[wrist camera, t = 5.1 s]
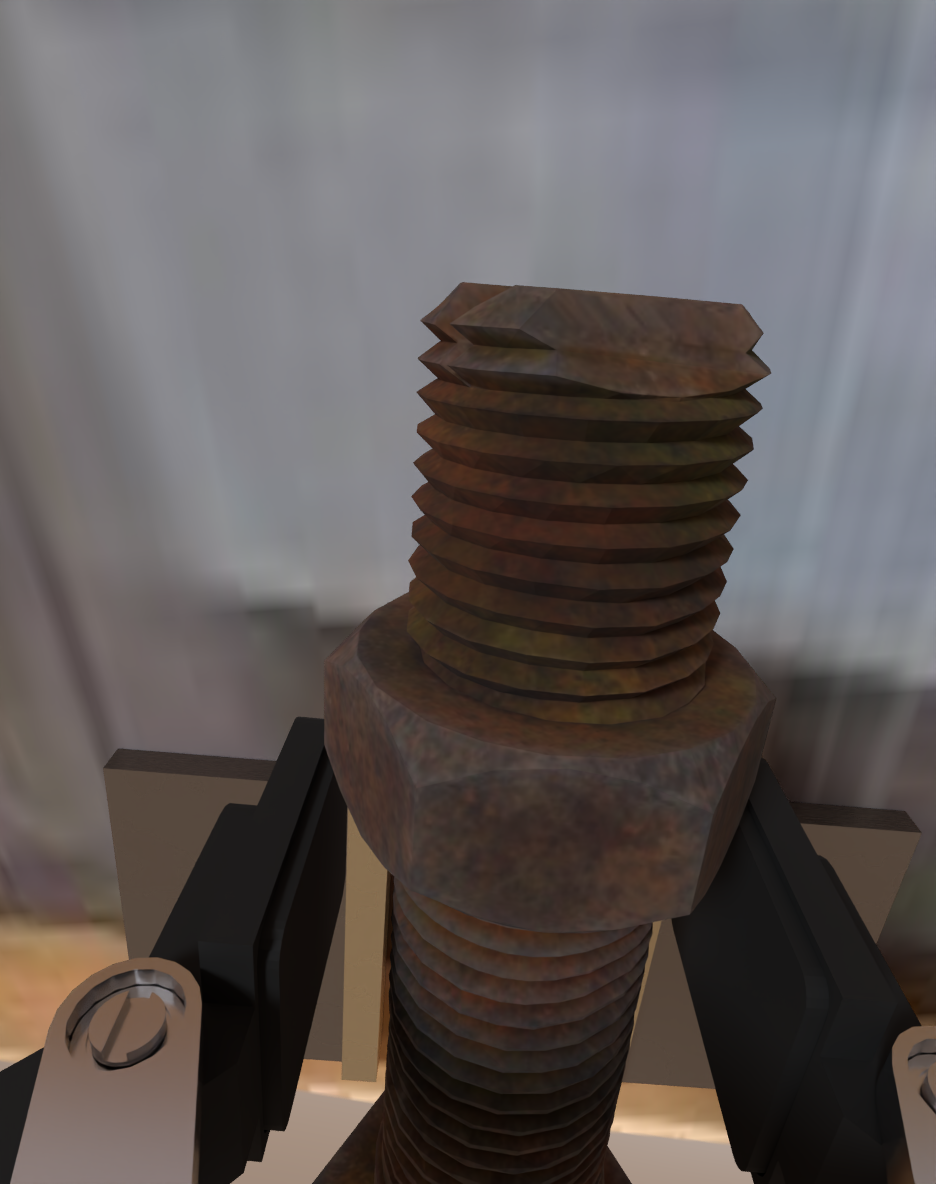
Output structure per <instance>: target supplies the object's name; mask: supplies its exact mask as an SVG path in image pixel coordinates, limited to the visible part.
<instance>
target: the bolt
mask: <svg viewBox="0 0 936 1184" xmlns="http://www.w3.org/2000/svg"><path fill="white" fill-rule="evenodd" d="M420 321H421V322H422V323H423V324H424V325H426V326H427V327H428V328H429V329H430V330H431V331H432V332H433V333H434V334H435V335H436V336H437V337H438V338H439V339H440V340H441V341H440V342H438V343H437V344H436V345H434V346H433V347H432V348H430V349H429V350H428V351H426V352H425V353H424V354H422V355H421V356H420V357H418V359H419V360H420V361H421V362H422V363H423V364H424V365H425V366H426V367H427V368H428V369H429V370H430V371H431V372H432V373H433V374H434V375H435V376H436V377H437V379H436V380H434V381H433V382H431V383H430V384H428V385H427V386H425V387H423V388H422V389H420V390H419V391H417V393H418V395H419V396H420V397H421V398H422V399H423V400H424V402H425V403H426V404H427V405H428V406H429V407H430V408H431V410H432V411H433V412H434V413H435V415H433V416H431V417H430V418H428V419H426V420H424V421H423V422H421V423H419V424H418V426H417V433H418V434H419V435H420V436H421V437H422V438H423V439H424V440H425V441H426V442H427V443H428V444H429V445H430V446H431V447H432V448H433V449H431V450H429V451H428V452H426V453H424V454H423V455H422V456H420V457H419V458H418V459H417V460H416V461H415V462H413V463H414V465H415V466H416V467H417V468H418V470H419V471H420V472H421V473H422V474H423V476H424V477H425V478H426V479H427V480H428V482H427V483H426V484H424V485H422V486H421V487H420V488H419V489H418V490H417V491H416V492H415V493H414V494H413V495H412V496H411V497H412V498H413V500H414V501H415V503H416V504H417V506H418V507H419V509H420V510H421V511H422V512H423V513H424V514H425V515H424V516H422V517H421V518H419V519H417V520H416V521H414V522H413V526H412V537H413V538H414V539H415V540H416V541H417V542H418V543H419V544H420V545H419V546H418V547H417V549H416V550H415V552H414V553H413V554H412V556H411V557H410V559H409V560H408V561H409V563H410V565H411V567H412V569H413V571H414V573H415V575H416V578H415V579H414V580H412V581H411V582H410V587H409V592H408V593H406V594H404V595H402V596H400V597H398V598H397V599H395V600H393V601H391V602H389V603H387V604H386V605H384V606H382V607H380V608H378V609H376V610H375V611H374V612H373V613H371V614H370V615H369V616H368V617H367V618H366V619H365V620H364V621H363V622H362V623H361V624H360V625H359V626H358V627H357V628H356V629H355V630H354V631H353V632H352V633H351V634H350V635H349V636H348V637H347V638H346V639H345V640H344V641H343V642H342V643H341V644H340V645H339V646H338V647H337V648H336V649H335V650H334V651H333V652H332V653H331V654H330V655H329V656H328V657H327V658H326V660H325V661H324V745H325V748H326V751H327V754H328V757H329V760H330V763H331V765H332V768H333V771H334V774H335V777H336V780H337V783H338V786H339V788H340V791H341V793H342V796H343V798H344V800H345V802H346V804H347V807H348V809H349V811H350V813H351V815H352V818H353V820H354V822H355V824H356V826H357V829H358V831H359V833H360V835H361V837H362V838H363V840H364V841H365V842H366V844H367V845H368V846H369V848H370V849H371V850H372V852H373V853H374V854H375V856H376V857H377V859H378V860H379V861H380V863H381V864H382V865H383V867H384V868H385V869H387V870H388V871H389V872H390V873H391V874H392V875H393V876H394V886H395V887H394V891H393V911H392V916H391V920H392V926H393V931H392V934H391V941H392V950H391V954H390V961H391V970H390V973H389V980H390V989H389V1011H390V1021H389V1037H388V1045H387V1050H388V1051H387V1063H386V1075H385V1091H384V1092H383V1093H382V1095H381V1096H380V1097H379V1098H378V1100H377V1101H376V1102H375V1104H374V1105H373V1106H372V1107H371V1109H370V1110H369V1111H368V1113H367V1114H366V1115H365V1117H364V1118H363V1119H362V1120H361V1122H360V1123H359V1124H358V1125H357V1127H356V1128H355V1129H354V1131H353V1132H352V1133H351V1135H350V1136H349V1137H348V1138H347V1139H346V1141H345V1142H344V1143H343V1145H342V1146H341V1147H340V1148H339V1150H338V1151H337V1152H336V1154H335V1155H334V1156H333V1157H332V1159H331V1160H330V1162H329V1163H328V1164H327V1165H326V1166H325V1168H324V1169H323V1171H322V1172H321V1173H320V1174H319V1176H318V1177H317V1178H316V1179H315V1181H314V1182H313V1183H312V1184H632V1183H631V1182H630V1180H629V1179H628V1177H627V1176H626V1174H625V1173H624V1171H623V1169H622V1168H621V1166H620V1165H619V1163H618V1162H617V1160H616V1158H615V1157H614V1155H613V1154H612V1152H611V1151H610V1149H609V1148H608V1146H607V1145H608V1141H609V1137H610V1128H611V1126H612V1123H613V1119H614V1113H615V1109H616V1104H617V1099H618V1095H619V1091H620V1087H621V1083H622V1079H623V1075H624V1071H625V1067H626V1060H627V1056H628V1053H629V1049H630V1039H631V1035H632V1031H633V1026H634V1014H635V1010H636V1007H637V1003H638V999H639V995H640V990H641V986H642V985H641V984H642V980H643V976H644V972H645V964H646V961H647V958H648V954H649V942H650V939H651V937H652V934H653V922H657V921H661V920H666V919H671V918H676V917H681V916H686V915H690V914H691V913H692V911H693V910H694V909H695V907H696V906H697V905H698V904H699V902H700V901H701V900H702V898H703V897H704V896H705V894H706V892H707V890H708V889H709V887H710V885H711V883H712V881H713V879H714V877H715V876H716V874H717V872H718V870H719V868H720V866H721V864H722V862H723V859H724V857H725V855H726V853H727V850H728V848H729V846H730V843H731V841H732V839H733V837H734V834H735V832H736V830H737V828H738V825H739V823H740V820H741V817H742V815H743V812H744V809H745V807H746V804H747V801H748V799H749V796H750V793H751V791H752V788H753V785H754V783H755V779H756V775H757V772H758V768H759V764H760V760H761V756H762V752H763V748H764V744H765V740H766V736H767V732H768V728H769V725H770V721H771V717H772V713H773V709H774V705H775V701H776V698H775V696H774V695H773V694H772V693H771V691H770V690H769V689H768V688H767V686H766V685H765V684H764V683H763V681H762V680H761V679H760V677H759V676H758V675H757V674H756V672H755V671H754V670H753V669H752V667H751V666H750V665H749V664H748V662H747V661H746V660H745V659H744V657H743V656H742V655H741V654H740V652H739V651H738V650H737V649H736V648H735V647H734V646H733V645H731V644H730V643H729V642H727V641H726V640H725V639H723V638H722V637H721V636H720V635H718V634H717V633H716V632H714V631H713V629H714V626H715V624H716V622H717V619H718V617H719V615H720V612H719V609H718V607H717V604H716V602H715V600H716V599H717V598H718V597H720V595H721V593H722V591H723V589H724V587H725V584H726V582H727V581H726V578H725V576H724V574H723V571H722V569H721V567H720V566H722V565H723V564H725V563H726V562H727V561H728V559H729V557H730V555H731V553H732V551H733V547H732V546H731V544H730V543H729V541H728V540H727V538H726V537H725V535H724V534H725V533H727V532H728V531H730V530H731V529H732V527H733V526H734V524H735V523H736V521H737V520H738V518H739V517H740V516H741V515H740V514H739V512H738V511H737V510H736V509H735V507H734V506H733V505H732V504H731V502H730V501H729V500H728V499H729V498H731V497H732V496H734V495H735V494H737V493H738V492H740V491H741V490H742V489H743V488H744V486H745V484H746V483H747V481H748V480H747V478H746V477H745V476H744V475H743V474H742V473H741V472H740V471H739V470H738V469H737V467H736V466H734V465H733V463H735V462H736V461H738V460H739V459H741V458H742V457H744V456H745V455H746V454H748V453H749V452H751V451H752V450H754V448H753V442H752V438H751V437H750V436H749V435H748V434H747V433H746V432H745V431H744V430H742V429H741V428H740V427H739V426H740V425H741V424H743V423H744V422H745V421H747V420H748V419H750V418H751V417H753V416H754V415H755V414H757V413H758V412H759V411H760V410H762V409H763V408H762V406H761V403H760V402H758V401H757V400H756V399H755V398H754V397H753V396H752V395H751V394H750V393H749V392H748V391H747V390H746V388H748V387H749V386H751V385H753V384H754V383H756V382H758V381H759V380H761V379H763V378H764V377H766V376H768V375H769V374H771V371H770V369H769V367H768V366H767V365H766V364H765V363H764V362H763V361H762V360H761V359H760V358H759V357H758V356H757V355H756V354H755V353H754V352H753V351H752V349H753V348H754V346H755V345H756V343H757V342H758V340H759V339H760V338H761V336H762V335H763V332H762V330H761V329H760V328H759V326H758V325H757V324H756V322H755V321H754V320H753V318H752V317H751V315H750V313H749V312H748V311H747V310H746V309H745V307H744V306H743V305H742V304H731V303H721V302H710V301H699V300H688V299H678V298H667V297H656V296H644V295H631V294H619V293H607V292H595V291H583V290H571V289H559V288H546V287H532V286H519V285H515V286H501V285H489V284H477V283H465V282H462V283H460V284H459V285H458V286H457V287H456V288H455V289H454V290H453V291H452V292H451V293H450V295H449V296H448V297H447V298H446V299H445V300H444V301H443V302H442V303H441V304H440V305H439V306H437V307H436V308H435V309H434V310H433V311H431V312H430V313H429V314H428V315H426V316H425V317H424V318H422V319H421V320H420Z"/></svg>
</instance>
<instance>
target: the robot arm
mask: <svg viewBox="0 0 936 1184" xmlns="http://www.w3.org/2000/svg"><path fill="white" fill-rule="evenodd" d="M346 844H347V804H346V802H345V800H344V798H343V796H342V793H341V791H340V788H339V786H338V783H337V780H336V777H335V774H334V771H333V768H332V765H331V763H330V760H329V757H328V754H327V751H326V748H325V745H324V719H319V718H307V717H297V718H296V719H295V721H294V723H293V725H292V727H291V730H290V732H289V734H288V736H287V739H286V741H285V743H284V746H283V748H282V750H281V752H280V755H279V757H278V759H277V762H276V764H275V766H274V768H273V771H272V773H271V775H270V778H269V780H268V782H267V784H266V787H265V789H264V791H263V794H262V796H261V798H260V800H259V803H258V805H247V804H236V803H229V804H227V805H226V806H225V807H224V809H223V810H222V812H221V813H220V815H219V817H218V819H217V821H216V823H215V825H214V827H213V829H212V831H211V833H210V835H209V837H208V839H207V841H206V843H205V845H204V847H203V849H202V851H201V853H200V855H199V857H198V859H197V861H196V863H195V865H194V867H193V870H192V872H191V874H190V876H189V878H188V880H187V882H186V884H185V886H184V888H183V890H182V892H181V894H180V896H179V898H178V900H177V902H176V904H175V906H174V908H173V910H172V912H171V914H170V916H169V918H168V920H167V922H166V924H165V926H164V928H163V930H162V932H161V934H160V936H159V938H158V940H157V942H156V944H155V946H154V948H153V950H152V952H151V954H150V956H149V958H134V959H130V960H127V961H123V962H119V963H115V964H112V965H110V966H108V967H107V968H105V969H103V970H101V971H99V972H97V973H95V974H93V975H91V976H90V977H89V978H87V979H86V980H85V981H84V982H82V983H81V984H80V985H79V986H77V987H76V988H75V989H73V990H72V991H71V993H70V994H69V995H68V996H67V998H66V999H65V1000H64V1001H63V1003H62V1004H61V1005H60V1007H59V1008H58V1009H57V1011H56V1014H55V1016H54V1018H53V1021H52V1023H51V1025H50V1028H49V1030H48V1034H47V1038H46V1042H45V1046H44V1048H42V1049H40V1050H38V1051H36V1052H35V1053H33V1054H31V1055H29V1056H27V1057H26V1058H24V1059H22V1060H20V1061H19V1062H17V1063H15V1064H13V1065H11V1066H10V1067H8V1068H6V1069H4V1070H2V1071H1V1072H0V1184H230V1183H231V1182H232V1181H234V1180H235V1179H236V1178H238V1177H239V1176H240V1175H241V1174H243V1173H244V1170H245V1166H246V1163H247V1161H256V1162H262V1159H263V1155H264V1152H265V1147H266V1143H267V1140H268V1136H269V1132H270V1130H276V1131H285V1129H286V1127H287V1124H288V1121H289V1117H290V1113H291V1109H292V1105H293V1101H294V1096H295V1092H296V1088H297V1084H298V1080H299V1076H300V1072H301V1067H302V1063H303V1059H304V1055H305V1051H306V1047H307V1043H308V1038H309V1034H310V1030H311V1026H312V1022H313V1018H314V1013H315V1009H316V1005H317V1001H318V997H319V993H320V988H321V984H322V980H323V976H324V972H325V968H326V964H327V959H328V955H329V951H330V947H331V943H332V939H333V934H334V930H335V926H336V922H337V918H338V914H339V909H340V905H341V901H342V897H343V891H344V885H345V876H346ZM671 920H672V926H673V931H674V934H675V938H676V942H677V946H678V949H679V953H680V957H681V961H682V965H683V968H684V972H685V976H686V980H687V983H688V987H689V991H690V995H691V998H692V1002H693V1006H694V1010H695V1014H696V1017H697V1021H698V1025H699V1029H700V1032H701V1036H702V1040H703V1044H704V1047H705V1051H706V1055H707V1059H708V1062H709V1066H710V1070H711V1074H712V1078H713V1081H714V1085H715V1089H716V1093H717V1096H718V1100H719V1104H720V1108H721V1111H722V1115H723V1119H724V1123H725V1126H726V1130H727V1134H728V1138H729V1142H730V1145H731V1148H732V1153H733V1156H734V1159H735V1162H736V1164H737V1166H738V1168H739V1169H740V1170H741V1171H745V1172H746V1171H747V1172H751V1175H752V1178H753V1182H754V1184H936V1026H931V1025H929V1026H921V1024H920V1022H919V1020H918V1019H917V1017H916V1015H915V1013H914V1012H913V1010H912V1008H911V1006H910V1004H909V1003H908V1001H907V999H906V997H905V995H904V994H903V992H902V990H901V988H900V986H899V985H898V983H897V981H896V979H895V977H894V976H893V974H892V972H891V970H890V968H889V967H888V965H887V963H886V961H885V959H884V958H883V956H882V954H881V952H880V951H879V949H878V947H877V945H876V943H875V942H874V940H873V938H872V936H871V934H870V933H869V931H868V929H867V927H866V925H865V924H864V922H863V920H862V918H861V916H860V915H859V913H858V911H857V909H856V907H855V906H854V904H853V902H852V900H851V898H850V897H849V895H848V893H847V891H846V890H845V888H844V886H843V884H842V882H841V881H840V879H839V877H838V875H837V873H836V872H835V870H834V868H833V867H832V865H831V864H830V863H829V861H828V860H827V859H826V858H824V857H822V856H821V855H817V853H816V851H815V849H814V848H813V846H812V844H811V842H810V840H809V838H808V837H807V835H806V833H805V831H804V829H803V827H802V826H801V824H800V822H799V820H798V818H797V816H796V814H795V813H794V811H793V809H792V807H791V805H790V803H789V802H788V800H787V798H786V796H785V794H784V792H783V791H782V789H781V787H780V785H779V783H778V781H777V779H776V778H775V776H774V774H773V772H772V770H771V768H770V767H769V765H768V763H767V762H766V760H765V759H763V758H761V760H760V764H759V768H758V772H757V775H756V779H755V783H754V785H753V788H752V791H751V793H750V796H749V799H748V801H747V804H746V807H745V809H744V812H743V815H742V817H741V820H740V823H739V825H738V828H737V830H736V832H735V834H734V837H733V839H732V841H731V843H730V846H729V848H728V850H727V853H726V855H725V857H724V859H723V862H722V864H721V866H720V868H719V870H718V872H717V874H716V876H715V877H714V879H713V881H712V883H711V885H710V887H709V889H708V890H707V892H706V894H705V896H704V897H703V898H702V900H701V901H700V902H699V904H698V905H697V906H696V907H695V909H694V910H693V911H692V913H691V914H690V915H686V916H681V917H676V918H671Z"/></svg>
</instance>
